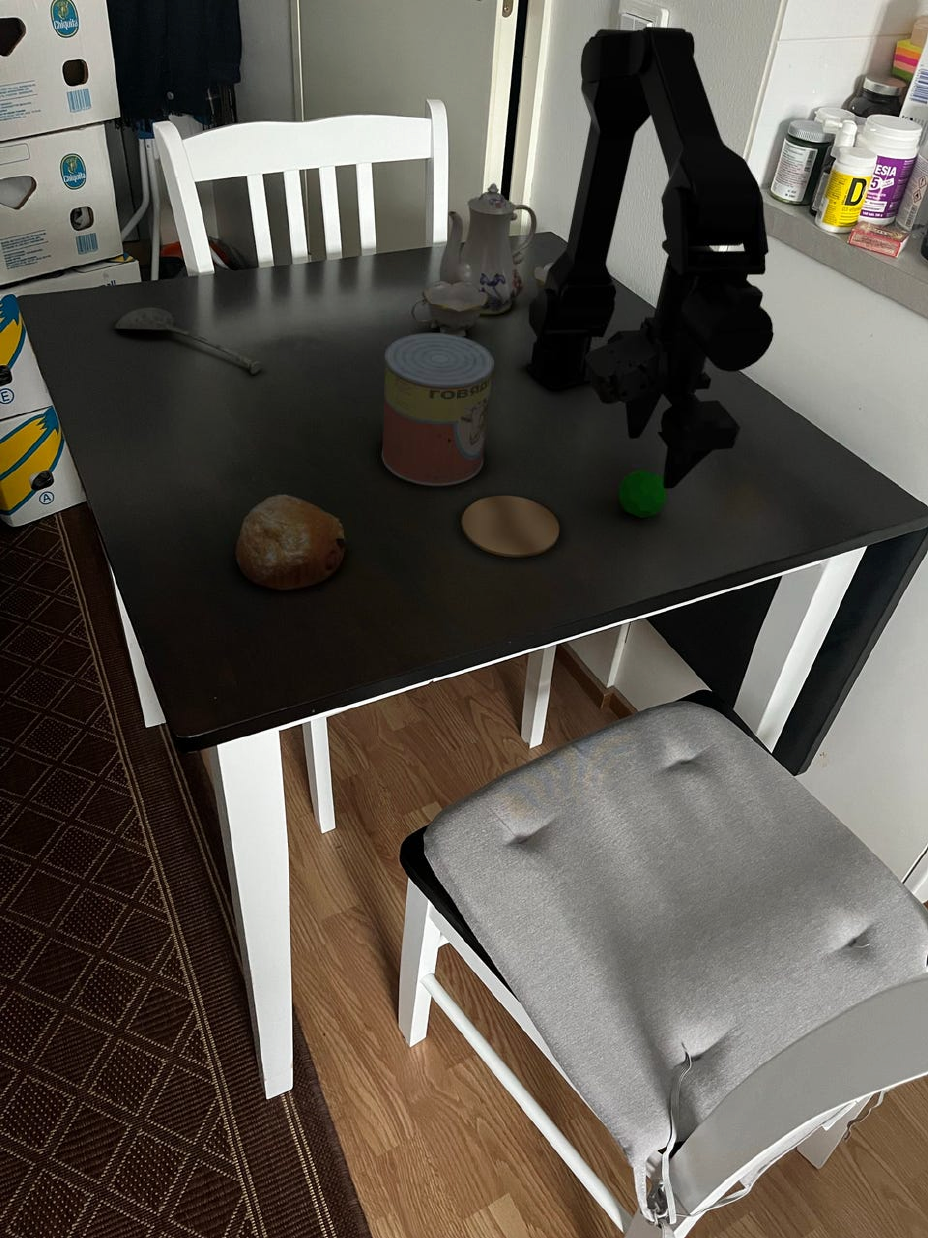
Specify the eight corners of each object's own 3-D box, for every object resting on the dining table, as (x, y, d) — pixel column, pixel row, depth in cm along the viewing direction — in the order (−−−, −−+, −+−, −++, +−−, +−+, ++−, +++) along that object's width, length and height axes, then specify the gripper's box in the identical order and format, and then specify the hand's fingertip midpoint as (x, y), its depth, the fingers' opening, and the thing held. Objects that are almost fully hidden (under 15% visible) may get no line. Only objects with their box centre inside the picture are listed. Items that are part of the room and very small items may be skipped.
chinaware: (443, 367, 128) (461, 245, 116) (374, 304, 136) (385, 184, 124) (602, 323, 142) (632, 210, 130) (530, 268, 150) (553, 157, 138)
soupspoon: (144, 316, 130) (106, 336, 126) (139, 292, 127) (100, 311, 123) (274, 363, 122) (239, 386, 118) (271, 338, 119) (235, 360, 115)
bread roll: (262, 554, 100) (222, 495, 95) (355, 521, 98) (319, 458, 93) (255, 620, 93) (211, 560, 88) (355, 585, 91) (316, 522, 86)
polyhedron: (606, 513, 104) (615, 475, 101) (628, 493, 107) (636, 455, 104) (649, 532, 102) (658, 494, 99) (669, 510, 105) (679, 473, 102)
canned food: (447, 498, 104) (456, 397, 96) (361, 461, 108) (362, 360, 100) (501, 453, 111) (514, 355, 103) (418, 419, 115) (424, 322, 107)
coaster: (524, 489, 106) (524, 486, 106) (577, 541, 100) (578, 538, 100) (443, 512, 102) (444, 509, 102) (494, 568, 96) (495, 565, 96)
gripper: (569, 276, 95) (547, 419, 105) (643, 371, 82) (609, 523, 92) (675, 273, 97) (643, 412, 108) (763, 365, 84) (717, 513, 95)
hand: (650, 461), depth 101 cm, fingers open, 9 cm apart
